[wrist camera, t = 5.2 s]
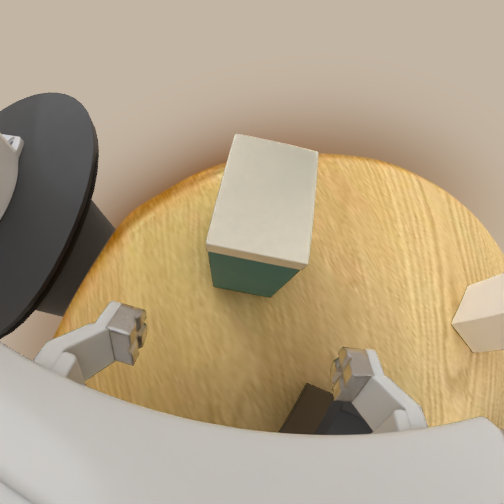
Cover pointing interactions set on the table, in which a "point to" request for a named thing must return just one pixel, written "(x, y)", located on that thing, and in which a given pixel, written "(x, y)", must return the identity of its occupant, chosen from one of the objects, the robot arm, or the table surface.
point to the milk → (482, 315)
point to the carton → (262, 216)
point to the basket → (323, 415)
